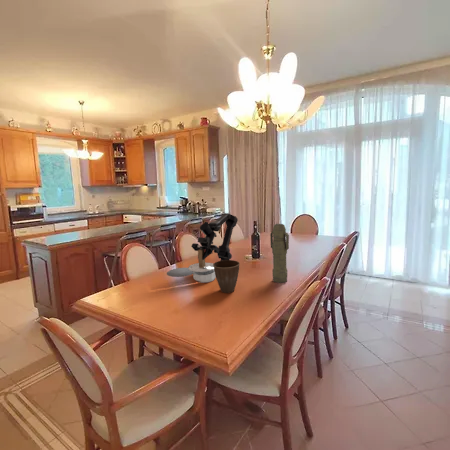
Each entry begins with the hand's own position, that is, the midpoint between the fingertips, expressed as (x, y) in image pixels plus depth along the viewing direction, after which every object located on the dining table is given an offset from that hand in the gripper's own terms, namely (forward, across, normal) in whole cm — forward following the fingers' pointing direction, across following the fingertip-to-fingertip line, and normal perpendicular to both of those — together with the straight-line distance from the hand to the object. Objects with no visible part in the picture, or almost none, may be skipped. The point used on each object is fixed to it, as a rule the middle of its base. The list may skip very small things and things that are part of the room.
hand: (200, 259), depth 181 cm
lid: (+3, 0, +5) cm, 6 cm away
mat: (+6, -20, +13) cm, 24 cm away
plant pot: (+16, +24, +3) cm, 30 cm away
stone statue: (-3, +46, +22) cm, 51 cm away
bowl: (+8, +1, +10) cm, 14 cm away
